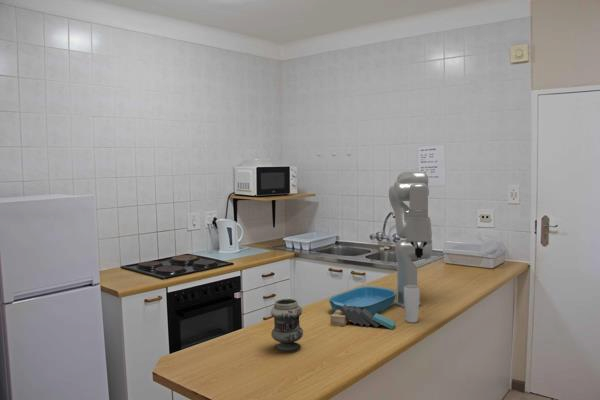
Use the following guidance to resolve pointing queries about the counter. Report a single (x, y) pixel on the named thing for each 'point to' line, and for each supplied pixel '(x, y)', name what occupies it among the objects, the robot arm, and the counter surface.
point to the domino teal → (384, 321)
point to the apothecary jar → (286, 325)
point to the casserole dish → (364, 299)
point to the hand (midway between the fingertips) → (419, 257)
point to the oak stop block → (339, 318)
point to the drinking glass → (411, 302)
